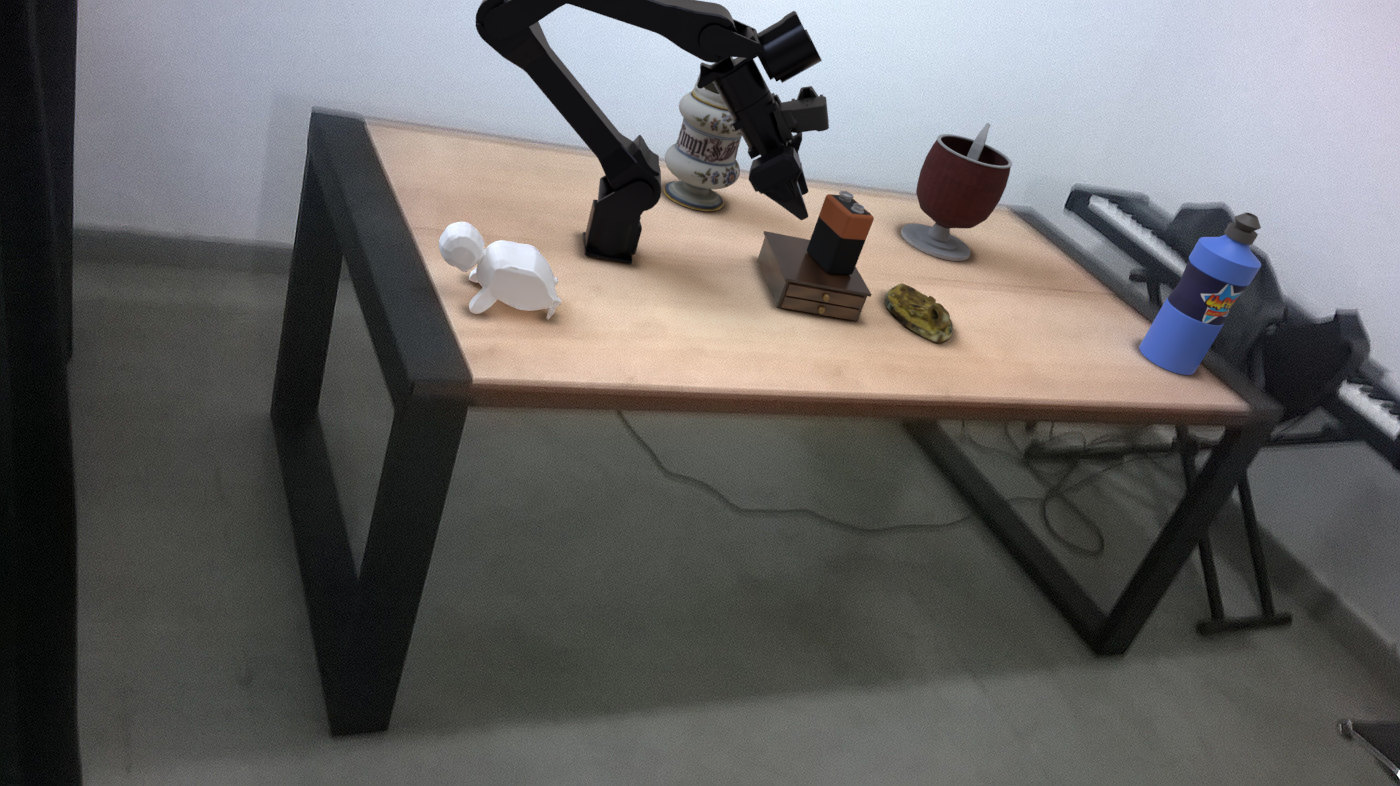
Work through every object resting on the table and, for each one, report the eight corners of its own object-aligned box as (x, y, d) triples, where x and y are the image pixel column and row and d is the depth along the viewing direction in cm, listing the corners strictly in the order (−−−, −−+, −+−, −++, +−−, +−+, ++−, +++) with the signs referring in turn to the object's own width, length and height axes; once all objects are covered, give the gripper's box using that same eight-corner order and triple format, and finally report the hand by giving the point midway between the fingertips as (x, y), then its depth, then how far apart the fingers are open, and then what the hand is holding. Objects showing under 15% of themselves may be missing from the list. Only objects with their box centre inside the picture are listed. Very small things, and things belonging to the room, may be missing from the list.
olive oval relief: (867, 293, 159) (911, 346, 148) (875, 265, 157) (920, 317, 145) (922, 293, 162) (969, 345, 151) (931, 266, 160) (979, 316, 148)
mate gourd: (967, 272, 175) (1018, 158, 165) (888, 239, 178) (934, 126, 167) (980, 244, 188) (1028, 138, 178) (906, 215, 191) (950, 108, 180)
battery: (829, 252, 153) (853, 189, 148) (853, 276, 148) (878, 211, 143) (804, 251, 151) (827, 186, 146) (827, 275, 146) (852, 209, 141)
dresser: (776, 311, 143) (787, 281, 141) (754, 258, 156) (764, 230, 154) (861, 326, 147) (873, 297, 144) (833, 273, 159) (844, 246, 157)
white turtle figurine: (530, 309, 132) (421, 251, 125) (568, 257, 129) (458, 194, 122) (534, 345, 125) (419, 286, 118) (575, 291, 122) (458, 227, 115)
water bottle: (1207, 378, 165) (1297, 234, 152) (1159, 371, 162) (1246, 224, 149) (1174, 346, 173) (1256, 206, 160) (1127, 339, 170) (1207, 196, 157)
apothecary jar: (692, 178, 177) (722, 72, 167) (744, 210, 171) (778, 103, 162) (640, 184, 168) (669, 73, 159) (693, 218, 162) (726, 106, 153)
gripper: (806, 90, 124) (864, 203, 130) (807, 52, 140) (858, 155, 146) (722, 134, 127) (782, 243, 133) (732, 93, 143) (785, 191, 149)
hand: (805, 205), depth 140 cm, fingers open, 9 cm apart
